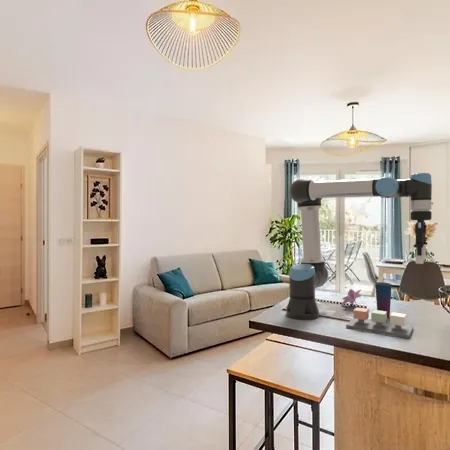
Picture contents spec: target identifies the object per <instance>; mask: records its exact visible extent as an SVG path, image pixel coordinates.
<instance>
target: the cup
mask: <svg viewBox="0 0 450 450" xmlns="http://www.w3.org/2000/svg"><path fill="white" fill-rule="evenodd" d="M374 286H375V296H376V299H375V300H376V310H379V311H387V319H388V318H390V315H391V303H392V302H391V299H392V298H391V297H392V287H393V286H392V283H390V282H383V281H379V282H375V284H374Z"/></svg>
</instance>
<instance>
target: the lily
mask: <svg viewBox="0 0 450 450" xmlns="http://www.w3.org/2000/svg"><path fill="white" fill-rule="evenodd" d="M361 291H362V289H359V290H357V291H356V292H355V290H354V289H353V288H350V289H349V290H348V292H347V296H344V297H342V298H341V299H342V300H343V301H342V303H341V305H340V306H343V305H345V304H347V303H349V304H350V305H354V303H355V305H356V307H357V308H359V306H358V304H357V302H356V299H358V298H361V297H362V294H361V293H360V292H361Z"/></svg>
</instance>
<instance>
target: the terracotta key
mask: <svg viewBox="0 0 450 450" xmlns="http://www.w3.org/2000/svg"><path fill="white" fill-rule="evenodd" d="M369 310H370V309H369V308H364V307H357V306H356V307H355V308H354V309H353V310H352V311H353V314H352V315H353V317H352V318H354V319H361V320H367V319H369V318H370V313H369V312H370V311H369Z"/></svg>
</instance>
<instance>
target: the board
mask: <svg viewBox="0 0 450 450" xmlns="http://www.w3.org/2000/svg"><path fill="white" fill-rule="evenodd" d="M345 328H346V329H353V330H357V331H363V332H367V333H368V332H370V333H375V334H380V335H386V336H392V337H396V338H404V339H410V338H411V336H412V333H413V330H414V326H413V325H411V324H410V325H409V324H405V326H400V325H393V324H390V321H386V322H385V323H380V322H374V321H371V318H370V319H369V318H368V319H367V320H361V319H354V317H352V318H351V320H349V321H348V322H347V324H345Z"/></svg>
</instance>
